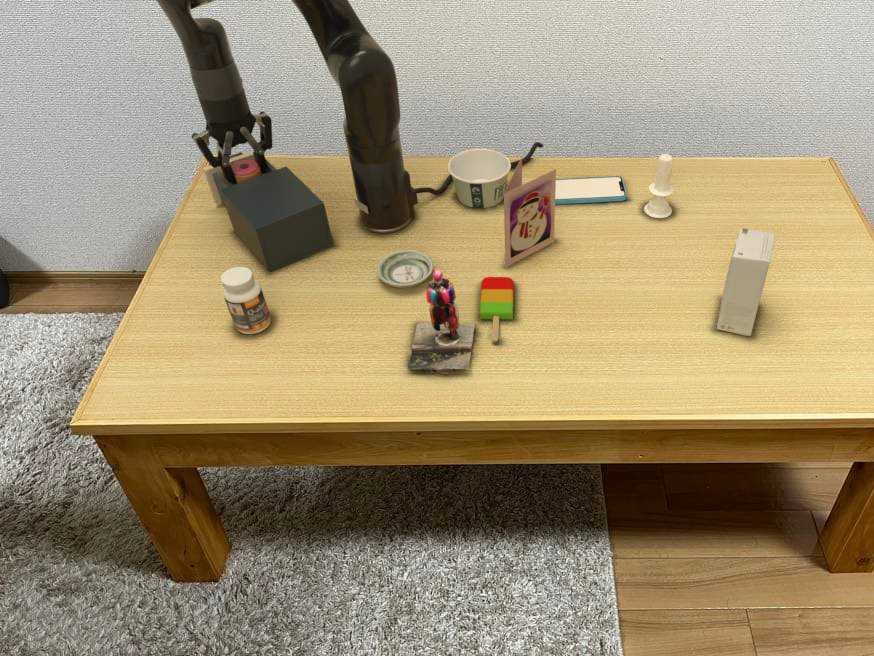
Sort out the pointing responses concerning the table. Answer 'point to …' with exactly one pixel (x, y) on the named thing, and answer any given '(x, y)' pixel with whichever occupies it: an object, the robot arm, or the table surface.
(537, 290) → the table surface
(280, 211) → the cabinet
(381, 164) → the robot arm
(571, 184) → the smartphone
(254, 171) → the donut
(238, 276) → the pill bottle
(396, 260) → the saucer
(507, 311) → the popsicle
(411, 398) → the table surface
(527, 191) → the greeting card
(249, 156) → the drawer
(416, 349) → the statue
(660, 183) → the candle
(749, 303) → the cosmetic box
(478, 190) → the food container
